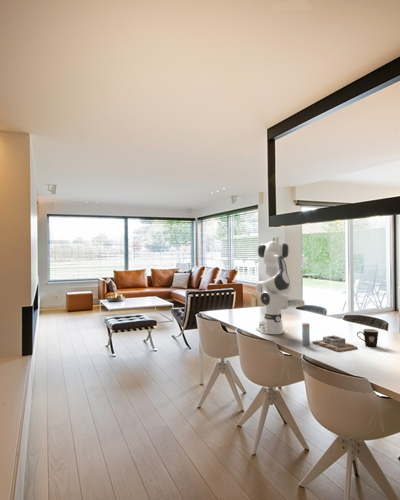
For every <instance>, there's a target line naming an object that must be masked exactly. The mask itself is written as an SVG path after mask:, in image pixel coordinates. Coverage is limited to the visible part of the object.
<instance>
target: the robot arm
mask: <svg viewBox="0 0 400 500" xmlns="http://www.w3.org/2000/svg"><path fill="white" fill-rule="evenodd" d="M256 250H257V251H256V252H257V254H258V256H259V257H260V258H263V262H264V264H265V274H266V275H267V276H268V277H270V278H268V279H266V280H259V281H257V283H256V284H255V291H256V293H257V294H258V295H259V296H260V297H259V298H260V302H261V304H263V305H264V306H265V313H264V318H263V319H261V321H259V325H258V327H256V328H255V330H256V331H258V332H260V333H262V334H265V335H281V334H284V332H285V330H284V324H283V320H282V318H283V317H282V311H281V310H284V311H285V310H288V308H296V307H297V308H299V307H305V300H304V299H297V298H293V299H290V298H289V296H287V295H288V294H290V292H291V283H290V282H291V281H290V278H289V275H288V270H287V269H288V268H287V263H286V260H285V259H287V258H288V256H289V254H290V252H291V251H290V246H289V245H288V244H287V243H284V242H283V243H281V242H277V241H274V240H273V241H272V240H271V241H269V242H262V243H259V244H258V247H257V249H256Z"/></svg>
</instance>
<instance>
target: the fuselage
mask: <svg viewBox="0 0 400 500" xmlns="http://www.w3.org/2000/svg"><path fill="white" fill-rule="evenodd" d="M301 325H302V326H301V327H302V328H301V330H302V332H301V333H302V337H301V338H302V346H304V347H310V345H311V344H310V342H311V338H310V323H309V322H302V324H301Z"/></svg>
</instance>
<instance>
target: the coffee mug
mask: <svg viewBox="0 0 400 500" xmlns="http://www.w3.org/2000/svg"><path fill="white" fill-rule="evenodd" d="M359 334H362V335H363V338H364V339H363V338H361V336H359ZM356 336H357V337H358V338H359V339H360V340H362V341H363V342H364V344H365V346H366V347H367V348H373V349H374V348H378V339H379V330H378V329H375V328H374V329H373V328H365V329H364V328H363V331H358V332H357V333H356Z"/></svg>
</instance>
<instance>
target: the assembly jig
mask: <svg viewBox="0 0 400 500" xmlns="http://www.w3.org/2000/svg"><path fill="white" fill-rule="evenodd" d="M311 342H312V345H313V344H314V345H316V346H320V347H322V348H325V349H328V350H331V351H334V352H337V353H341V352H347V351H353V350H357V349H358V346H355V345H354V344H352V343H348V342H346V338H345V337H341V336H338V335H327V336H323V337H322V339H320V340H315V341H311Z"/></svg>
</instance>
